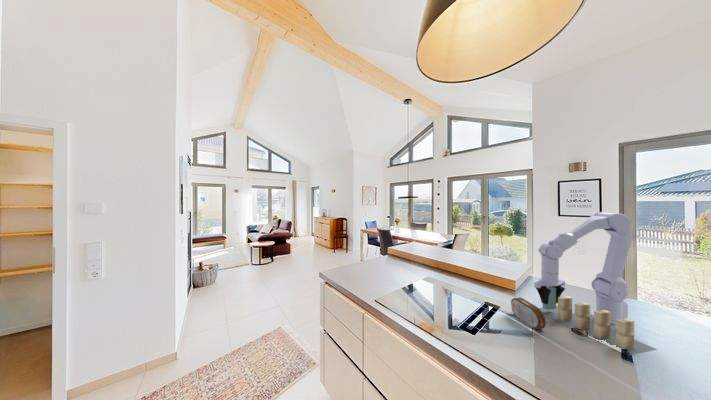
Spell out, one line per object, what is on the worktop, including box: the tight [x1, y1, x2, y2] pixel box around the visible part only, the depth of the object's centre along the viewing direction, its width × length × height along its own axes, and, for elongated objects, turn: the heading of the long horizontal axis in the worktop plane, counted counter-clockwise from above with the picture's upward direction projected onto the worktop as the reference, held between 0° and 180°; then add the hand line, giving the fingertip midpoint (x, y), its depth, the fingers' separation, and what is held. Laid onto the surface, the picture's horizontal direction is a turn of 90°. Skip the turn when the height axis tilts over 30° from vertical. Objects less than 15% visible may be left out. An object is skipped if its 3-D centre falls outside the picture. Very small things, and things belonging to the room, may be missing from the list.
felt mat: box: [538, 305, 658, 356], centre depth 89 cm, size 14×31×1 cm, turn 13°
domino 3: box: [574, 302, 591, 329], centre depth 88 cm, size 5×2×9 cm, turn 102°
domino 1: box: [542, 286, 557, 310], centre depth 100 cm, size 5×2×9 cm, turn 102°
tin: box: [510, 296, 547, 330], centre depth 92 cm, size 15×3×8 cm, turn 2°
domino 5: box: [615, 318, 635, 349], centre depth 76 cm, size 5×2×9 cm, turn 102°
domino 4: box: [593, 310, 612, 339], centre depth 82 cm, size 5×2×9 cm, turn 103°
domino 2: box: [557, 295, 573, 321], centre depth 94 cm, size 5×2×9 cm, turn 102°
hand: (549, 302), depth 100 cm, fingers closed on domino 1, 5 cm apart
